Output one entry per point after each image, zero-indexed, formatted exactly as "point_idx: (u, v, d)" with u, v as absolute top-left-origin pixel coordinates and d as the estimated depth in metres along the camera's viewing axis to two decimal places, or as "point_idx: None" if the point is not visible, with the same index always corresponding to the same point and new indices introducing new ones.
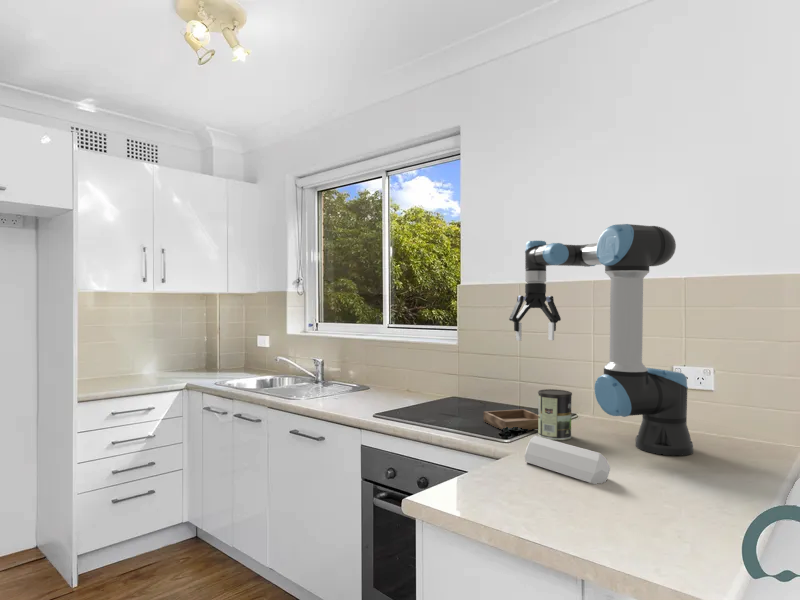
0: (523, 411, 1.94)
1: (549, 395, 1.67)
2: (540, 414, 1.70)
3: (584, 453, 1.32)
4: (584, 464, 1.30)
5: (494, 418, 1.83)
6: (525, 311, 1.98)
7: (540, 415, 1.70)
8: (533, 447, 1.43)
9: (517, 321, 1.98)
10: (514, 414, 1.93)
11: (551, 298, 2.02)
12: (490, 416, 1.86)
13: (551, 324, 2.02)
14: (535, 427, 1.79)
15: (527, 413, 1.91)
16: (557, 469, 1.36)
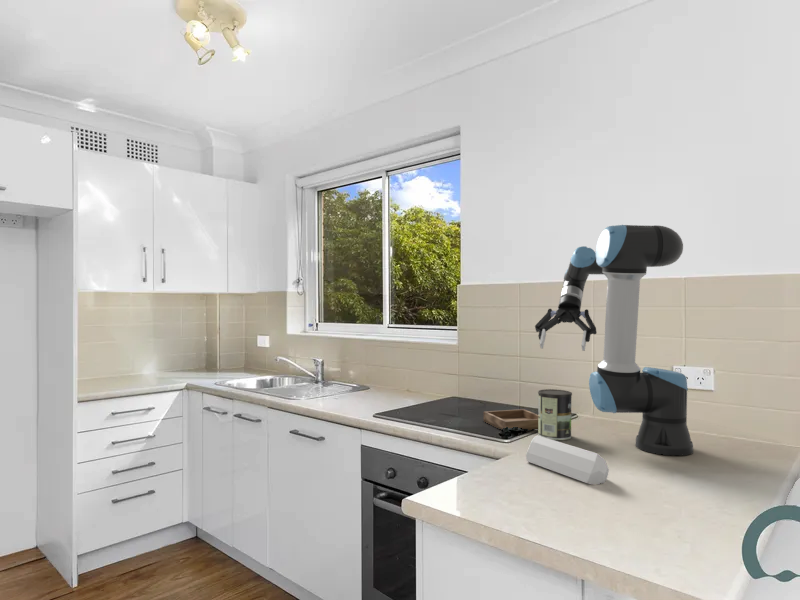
0: (523, 411, 1.94)
1: (549, 395, 1.67)
2: (540, 414, 1.70)
3: (582, 453, 1.32)
4: (582, 464, 1.30)
5: (494, 418, 1.83)
6: (551, 320, 1.89)
7: (540, 415, 1.70)
8: (534, 447, 1.44)
9: (540, 328, 1.88)
10: (514, 414, 1.93)
11: (585, 311, 1.87)
12: (490, 416, 1.86)
13: (583, 333, 1.81)
14: (535, 427, 1.79)
15: (527, 413, 1.91)
16: (556, 469, 1.36)
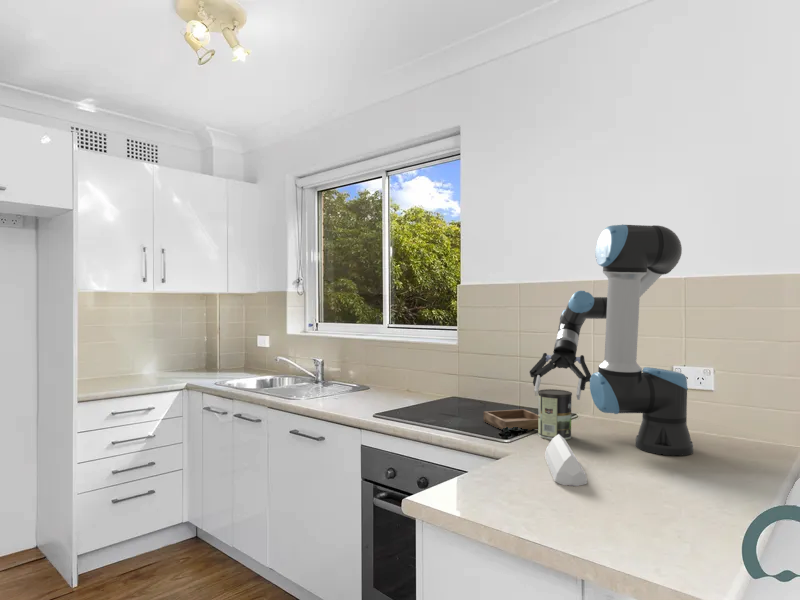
0: (523, 411, 1.94)
1: (549, 395, 1.67)
2: (540, 414, 1.70)
3: (564, 453, 1.32)
4: (558, 463, 1.31)
5: (494, 418, 1.83)
6: (546, 366, 1.85)
7: (540, 415, 1.70)
8: (550, 444, 1.46)
9: (535, 374, 1.85)
10: (514, 414, 1.93)
11: (581, 357, 1.83)
12: (490, 416, 1.86)
13: None
14: (535, 427, 1.79)
15: (527, 413, 1.91)
16: (549, 466, 1.38)
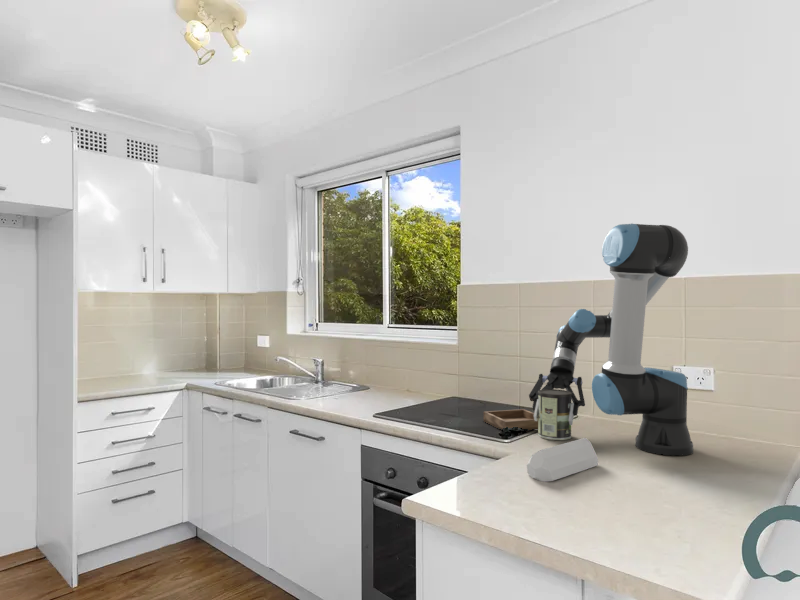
0: (523, 411, 1.94)
1: (549, 395, 1.67)
2: (540, 414, 1.70)
3: None
4: None
5: (494, 418, 1.83)
6: (545, 388, 1.77)
7: (540, 415, 1.70)
8: None
9: (535, 398, 1.76)
10: (514, 414, 1.93)
11: (578, 378, 1.75)
12: (490, 416, 1.86)
13: (571, 405, 1.70)
14: (535, 427, 1.79)
15: (527, 413, 1.91)
16: None
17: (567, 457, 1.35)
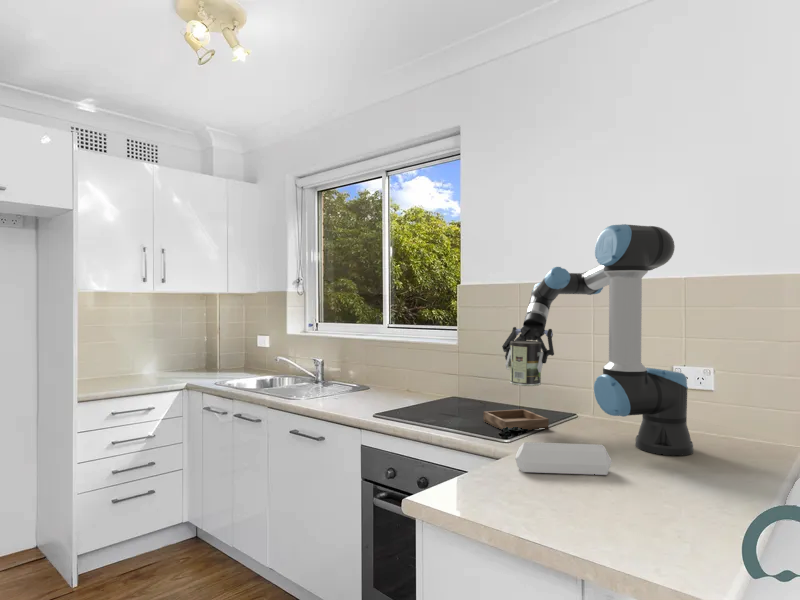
0: (523, 411, 1.94)
1: (519, 344, 1.78)
2: (511, 362, 1.81)
3: None
4: None
5: (494, 418, 1.83)
6: (517, 339, 1.88)
7: (511, 363, 1.81)
8: None
9: (507, 348, 1.86)
10: (514, 414, 1.93)
11: (549, 330, 1.86)
12: (490, 416, 1.86)
13: None
14: (535, 427, 1.79)
15: (527, 413, 1.91)
16: None
17: (557, 456, 1.36)
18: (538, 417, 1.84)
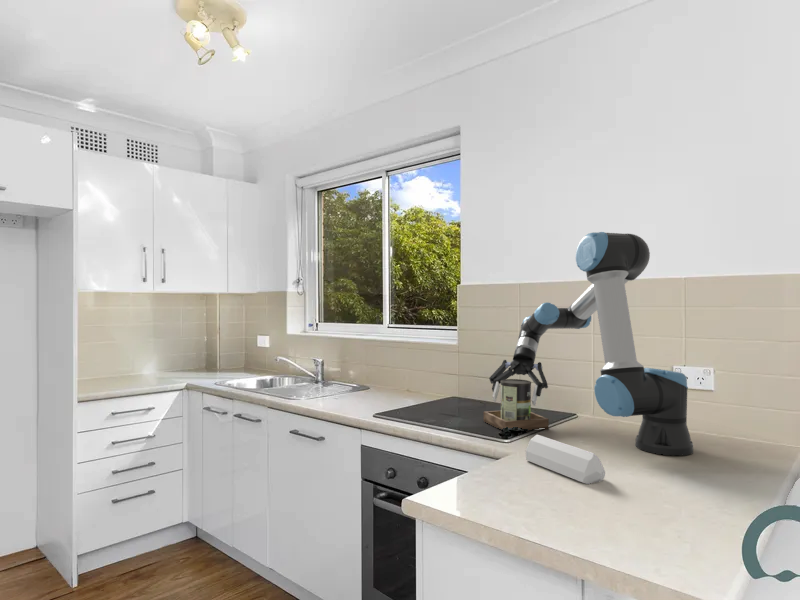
0: None
1: (509, 384, 1.81)
2: (502, 402, 1.84)
3: None
4: None
5: (494, 418, 1.83)
6: (505, 372, 1.91)
7: (502, 403, 1.84)
8: None
9: (494, 380, 1.91)
10: None
11: (538, 364, 1.90)
12: (490, 416, 1.86)
13: None
14: (535, 427, 1.79)
15: None
16: None
17: (550, 452, 1.39)
18: (538, 417, 1.84)
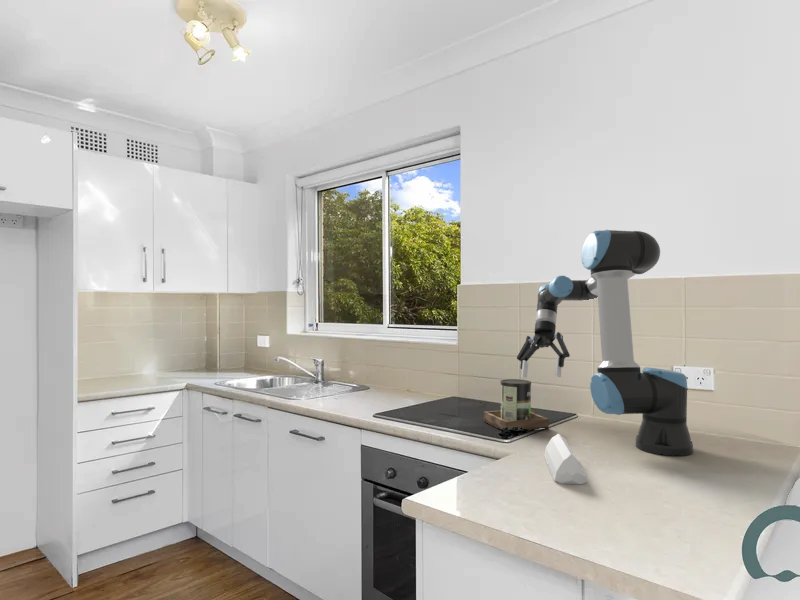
0: None
1: (509, 384, 1.81)
2: (502, 402, 1.84)
3: (564, 440, 1.44)
4: None
5: (494, 418, 1.83)
6: (529, 349, 2.03)
7: (502, 403, 1.84)
8: None
9: (521, 359, 2.04)
10: None
11: (557, 334, 1.98)
12: (490, 416, 1.86)
13: None
14: (535, 427, 1.79)
15: None
16: None
17: (553, 451, 1.41)
18: (538, 417, 1.84)
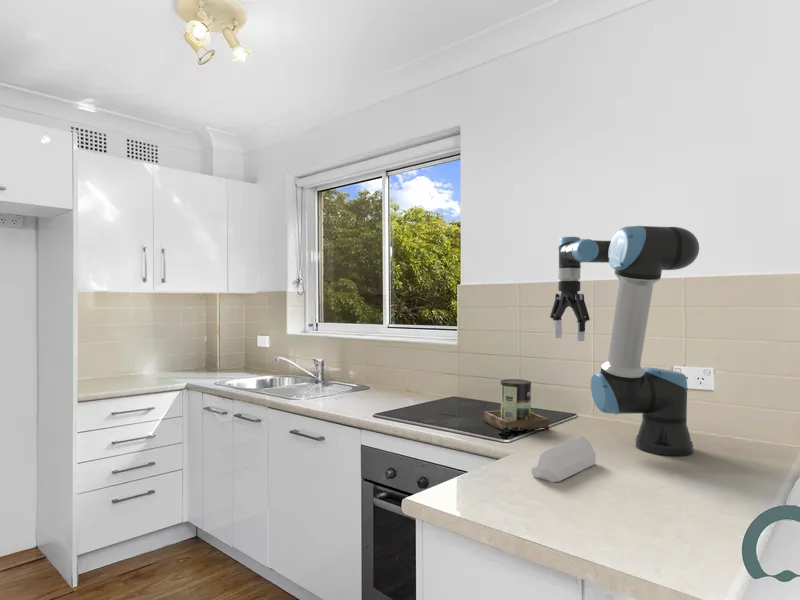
0: None
1: (509, 384, 1.81)
2: (502, 402, 1.84)
3: (579, 442, 1.42)
4: (587, 450, 1.42)
5: (494, 418, 1.83)
6: (558, 309, 1.99)
7: (502, 403, 1.84)
8: (557, 462, 1.31)
9: (553, 319, 2.02)
10: None
11: (576, 296, 1.89)
12: (490, 416, 1.86)
13: None
14: (535, 427, 1.79)
15: None
16: (578, 469, 1.36)
17: None
18: (538, 417, 1.84)
